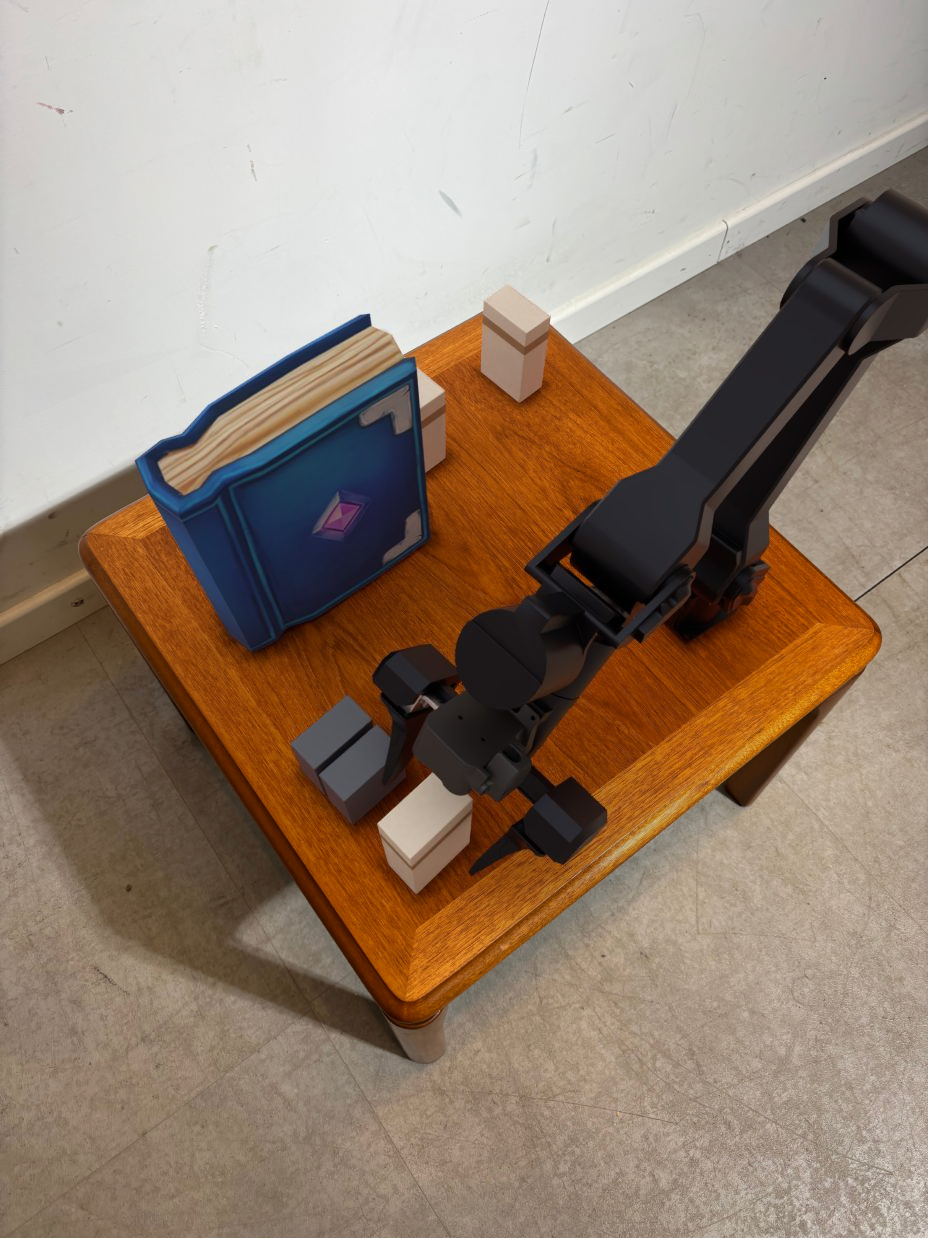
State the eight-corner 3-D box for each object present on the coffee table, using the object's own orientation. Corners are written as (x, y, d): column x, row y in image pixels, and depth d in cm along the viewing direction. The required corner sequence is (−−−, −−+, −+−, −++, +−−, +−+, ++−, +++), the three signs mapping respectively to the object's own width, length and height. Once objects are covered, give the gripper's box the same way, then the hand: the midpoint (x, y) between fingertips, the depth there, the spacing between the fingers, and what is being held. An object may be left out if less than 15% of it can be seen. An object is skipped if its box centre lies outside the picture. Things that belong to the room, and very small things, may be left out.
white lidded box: (441, 812, 75) (439, 765, 64) (470, 842, 74) (473, 799, 63) (387, 863, 73) (376, 823, 62) (416, 895, 72) (410, 860, 61)
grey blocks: (355, 725, 78) (347, 694, 72) (406, 777, 76) (402, 749, 70) (302, 771, 76) (289, 743, 70) (352, 826, 74) (344, 802, 68)
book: (246, 671, 80) (168, 513, 58) (204, 616, 83) (114, 445, 61) (435, 542, 87) (429, 356, 65) (390, 495, 90) (371, 300, 67)
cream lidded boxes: (542, 386, 96) (551, 315, 87) (421, 476, 91) (418, 410, 82) (502, 355, 98) (507, 282, 89) (382, 441, 93) (374, 373, 84)
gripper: (383, 592, 56) (274, 766, 62) (607, 802, 50) (462, 972, 56) (470, 580, 66) (368, 732, 72) (666, 755, 60) (537, 905, 66)
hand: (428, 827), depth 66 cm, fingers open, 9 cm apart
